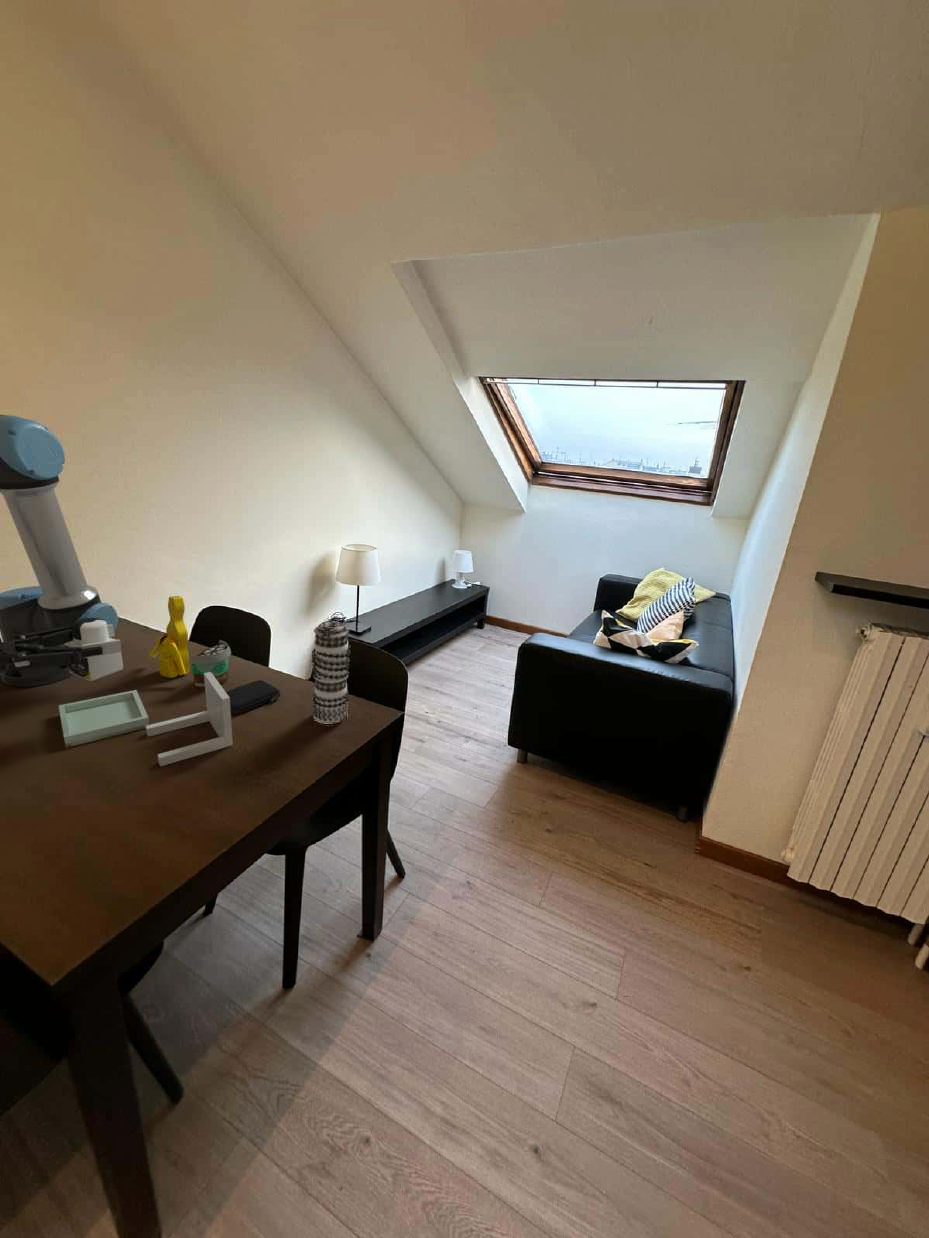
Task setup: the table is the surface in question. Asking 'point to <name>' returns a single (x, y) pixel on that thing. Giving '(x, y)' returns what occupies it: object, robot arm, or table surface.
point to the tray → (102, 717)
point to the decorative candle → (330, 672)
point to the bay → (215, 714)
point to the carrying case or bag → (251, 696)
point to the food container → (211, 664)
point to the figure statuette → (173, 642)
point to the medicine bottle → (97, 665)
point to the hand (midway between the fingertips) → (117, 637)
